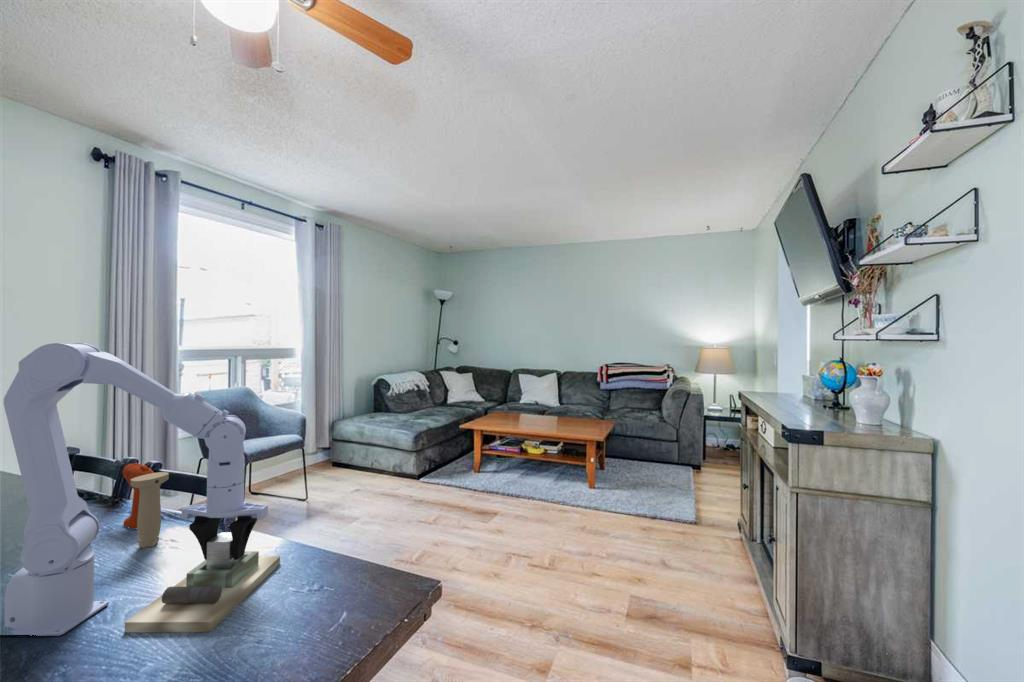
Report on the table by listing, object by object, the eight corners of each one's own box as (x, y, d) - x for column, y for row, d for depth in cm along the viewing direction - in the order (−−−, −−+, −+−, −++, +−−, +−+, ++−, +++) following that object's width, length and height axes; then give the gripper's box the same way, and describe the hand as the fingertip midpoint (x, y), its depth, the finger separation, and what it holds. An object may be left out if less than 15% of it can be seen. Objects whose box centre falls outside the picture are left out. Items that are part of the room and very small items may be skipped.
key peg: (206, 581, 75) (207, 542, 75) (221, 569, 79) (221, 532, 79) (228, 581, 75) (229, 542, 75) (242, 569, 79) (243, 532, 79)
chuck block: (124, 632, 64) (125, 605, 64) (214, 564, 84) (214, 544, 84) (210, 631, 64) (211, 605, 64) (279, 563, 84) (280, 543, 84)
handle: (172, 540, 94) (173, 473, 94) (138, 554, 88) (139, 482, 88) (158, 537, 95) (160, 471, 96) (124, 549, 89) (125, 479, 90)
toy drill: (124, 503, 111) (129, 448, 111) (159, 527, 102) (164, 467, 102) (100, 509, 107) (105, 452, 106) (134, 535, 98) (139, 472, 97)
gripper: (277, 476, 82) (276, 546, 81) (201, 476, 81) (200, 546, 81) (256, 488, 74) (254, 565, 74) (172, 488, 74) (171, 565, 74)
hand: (224, 557), depth 77 cm, fingers open, 5 cm apart
